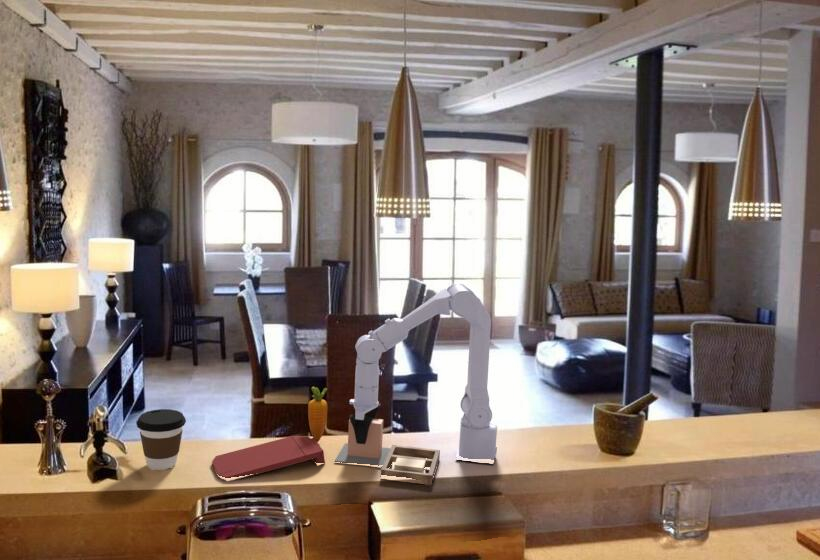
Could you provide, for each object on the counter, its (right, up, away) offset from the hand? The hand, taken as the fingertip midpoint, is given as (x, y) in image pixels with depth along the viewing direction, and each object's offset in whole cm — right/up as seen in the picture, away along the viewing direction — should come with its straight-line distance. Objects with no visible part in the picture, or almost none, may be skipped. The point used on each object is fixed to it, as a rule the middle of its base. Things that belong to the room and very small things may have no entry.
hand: (364, 437), depth 193 cm
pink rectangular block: (0, -4, +1) cm, 5 cm away
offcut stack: (+11, -8, -8) cm, 15 cm away
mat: (0, -5, +1) cm, 5 cm away
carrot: (-13, -3, +8) cm, 16 cm away
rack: (+11, -7, -4) cm, 14 cm away
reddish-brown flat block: (-22, -6, -6) cm, 24 cm away
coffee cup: (-47, -5, -10) cm, 48 cm away
